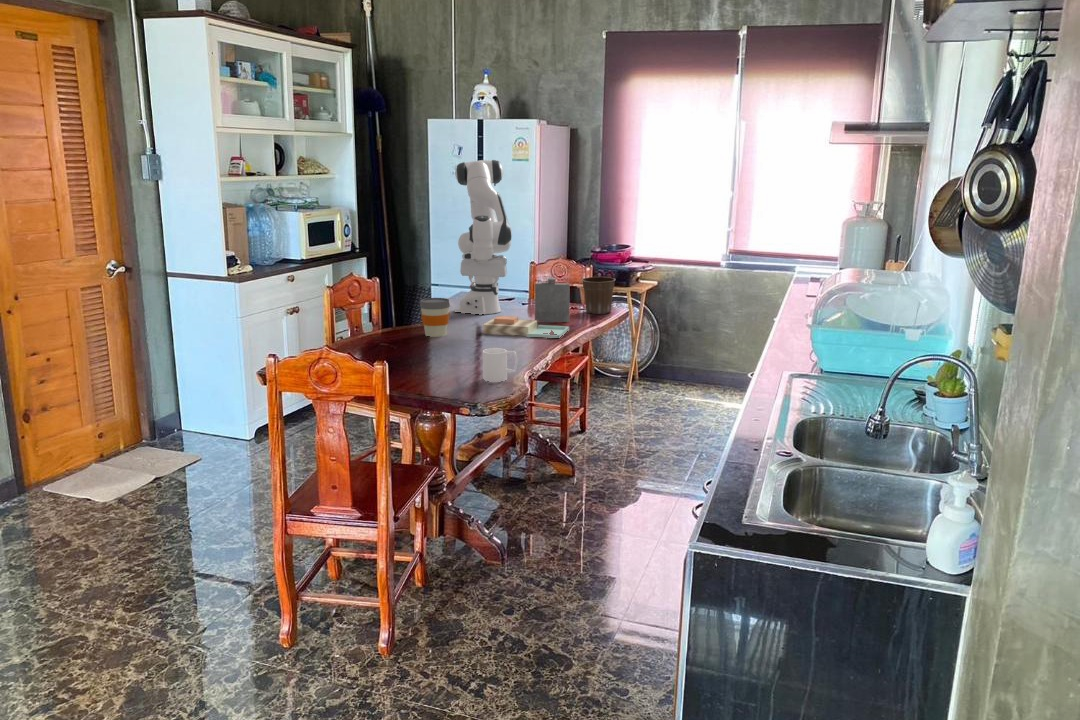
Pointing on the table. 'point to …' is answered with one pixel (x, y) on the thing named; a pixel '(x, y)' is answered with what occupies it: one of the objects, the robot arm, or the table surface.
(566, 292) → the hip flask
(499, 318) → the salmon pink block
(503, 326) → the beige flat block
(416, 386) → the table surface
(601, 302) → the plant pot
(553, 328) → the tray
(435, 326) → the reusable coffee cup
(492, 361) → the cup
